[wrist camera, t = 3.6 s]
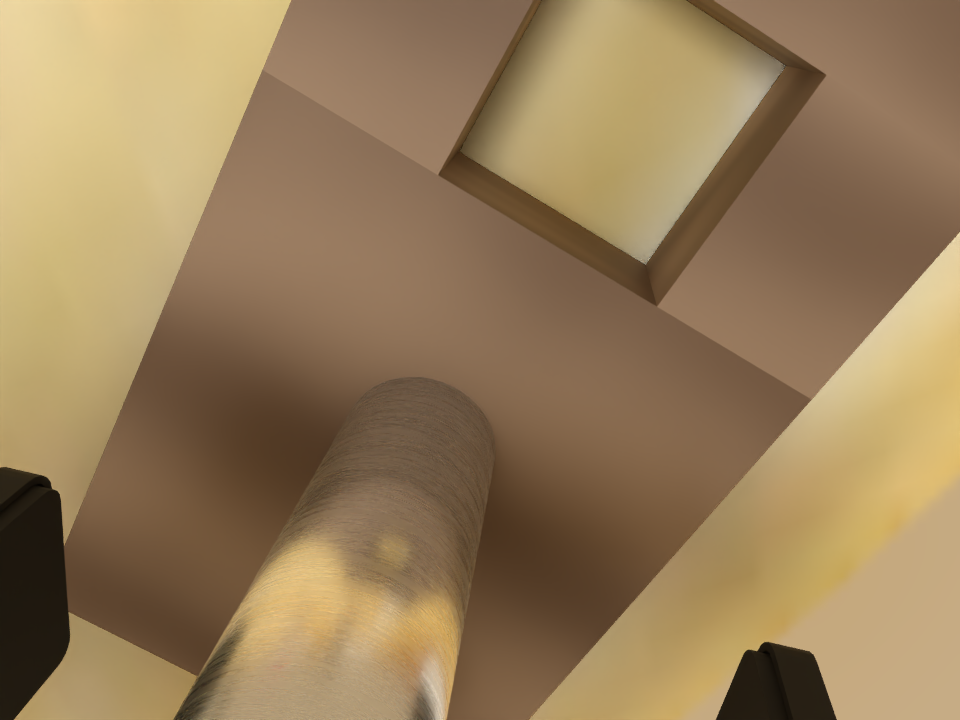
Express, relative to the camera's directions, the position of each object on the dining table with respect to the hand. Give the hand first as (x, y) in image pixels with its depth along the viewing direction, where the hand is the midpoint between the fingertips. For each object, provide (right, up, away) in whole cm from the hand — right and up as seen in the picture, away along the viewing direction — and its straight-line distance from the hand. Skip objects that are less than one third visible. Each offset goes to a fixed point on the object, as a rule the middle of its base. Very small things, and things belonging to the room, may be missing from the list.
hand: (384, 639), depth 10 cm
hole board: (+1, +4, +6) cm, 8 cm away
